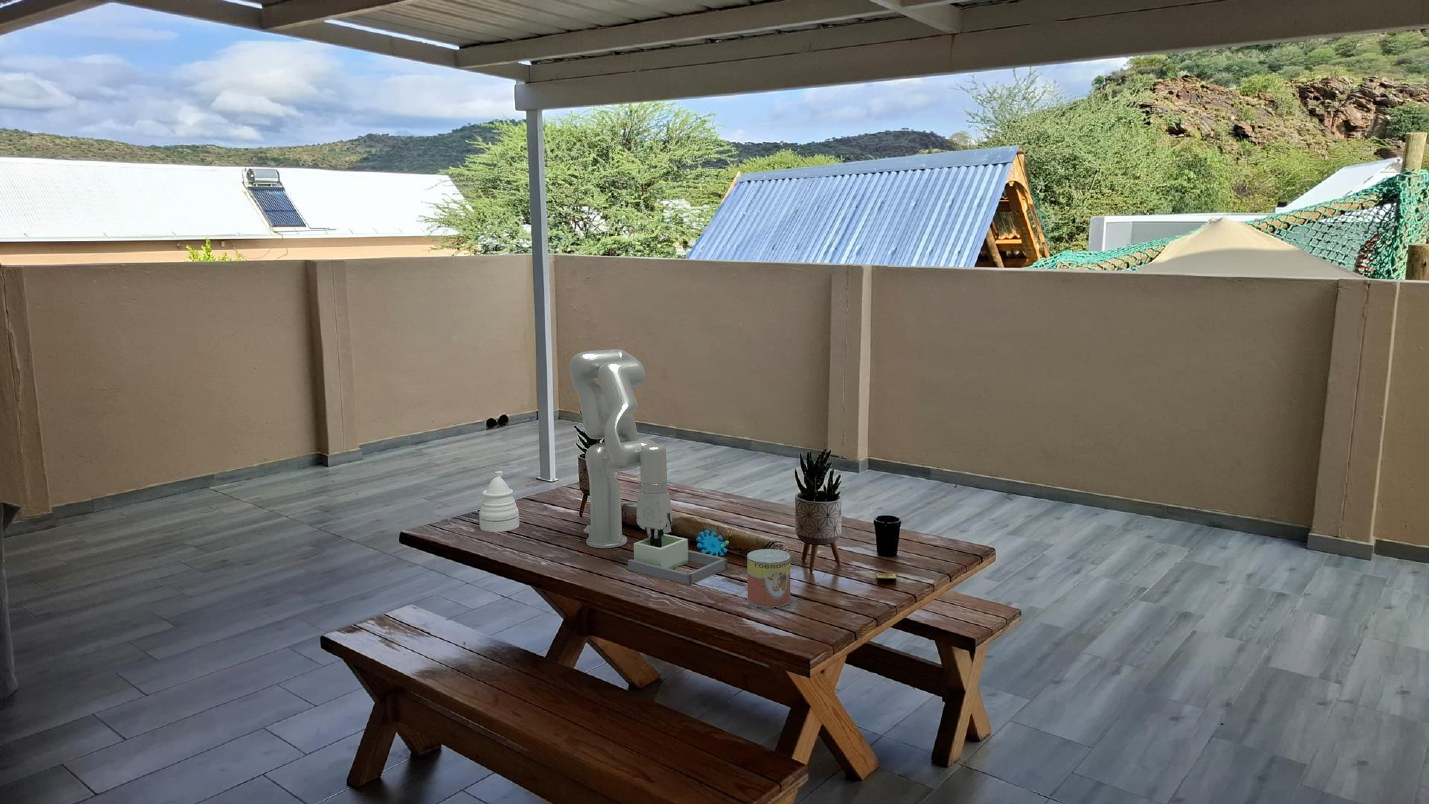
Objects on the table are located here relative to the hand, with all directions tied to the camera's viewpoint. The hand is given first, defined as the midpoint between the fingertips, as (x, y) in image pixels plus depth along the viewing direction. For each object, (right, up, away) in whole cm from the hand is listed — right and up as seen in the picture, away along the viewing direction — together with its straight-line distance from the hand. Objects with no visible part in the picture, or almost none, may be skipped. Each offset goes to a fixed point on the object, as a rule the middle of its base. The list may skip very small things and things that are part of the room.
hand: (656, 550), depth 280 cm
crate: (+2, -4, 0) cm, 4 cm away
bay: (+6, -6, -4) cm, 9 cm away
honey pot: (-55, +1, +45) cm, 70 cm away
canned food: (+31, -9, -26) cm, 41 cm away
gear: (+16, -4, +10) cm, 20 cm away
